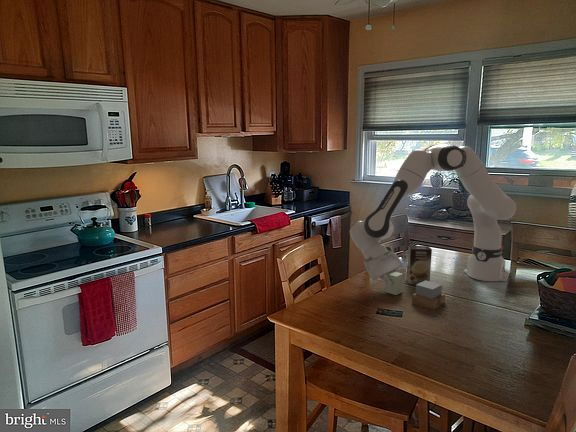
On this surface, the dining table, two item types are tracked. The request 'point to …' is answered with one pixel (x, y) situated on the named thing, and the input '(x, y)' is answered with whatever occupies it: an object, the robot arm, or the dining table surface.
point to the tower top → (428, 289)
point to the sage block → (395, 283)
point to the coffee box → (418, 264)
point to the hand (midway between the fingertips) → (395, 282)
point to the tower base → (428, 301)
